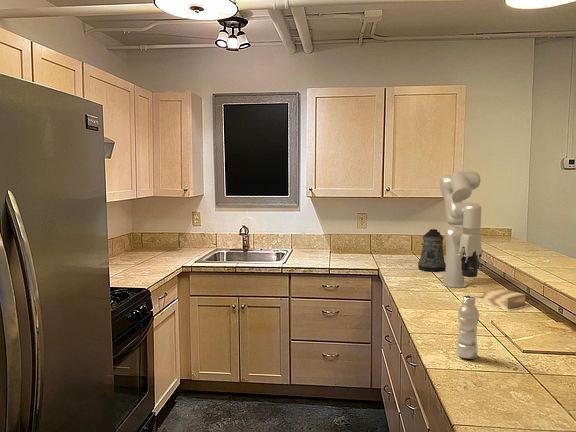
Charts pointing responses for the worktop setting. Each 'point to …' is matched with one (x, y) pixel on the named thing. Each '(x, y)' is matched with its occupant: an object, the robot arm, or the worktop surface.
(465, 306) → the plastic bottle
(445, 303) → the worktop surface
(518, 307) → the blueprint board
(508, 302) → the oak plinth
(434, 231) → the dark grey bell
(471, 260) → the supplement bottle
